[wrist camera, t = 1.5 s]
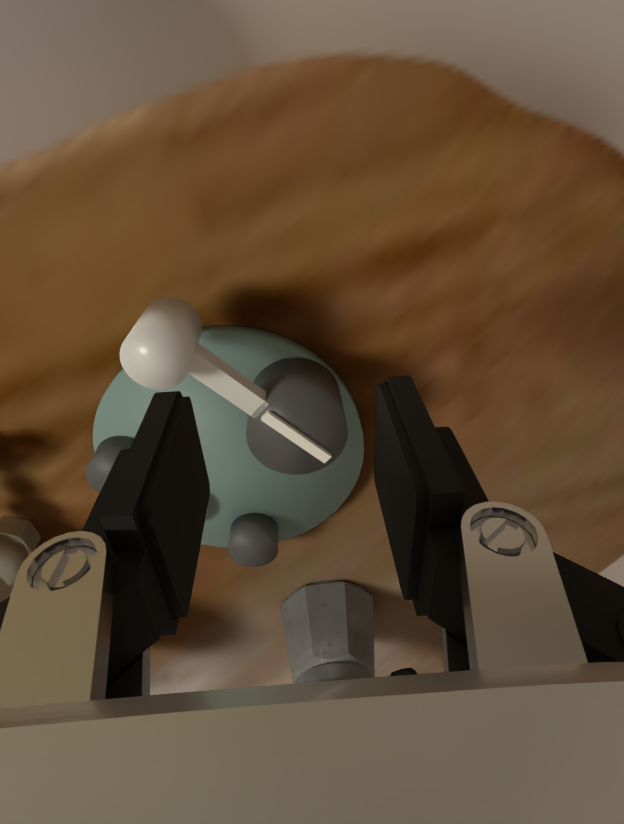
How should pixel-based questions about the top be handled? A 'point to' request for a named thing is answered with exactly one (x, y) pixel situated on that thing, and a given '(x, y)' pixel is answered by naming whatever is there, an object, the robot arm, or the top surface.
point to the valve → (14, 550)
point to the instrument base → (236, 451)
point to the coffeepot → (331, 633)
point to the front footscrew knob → (244, 389)
